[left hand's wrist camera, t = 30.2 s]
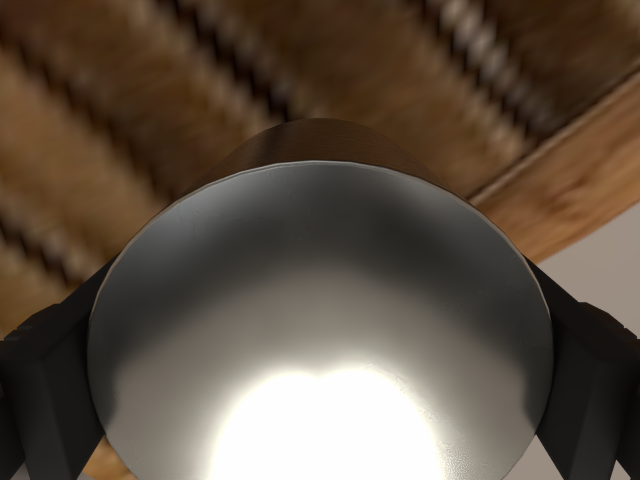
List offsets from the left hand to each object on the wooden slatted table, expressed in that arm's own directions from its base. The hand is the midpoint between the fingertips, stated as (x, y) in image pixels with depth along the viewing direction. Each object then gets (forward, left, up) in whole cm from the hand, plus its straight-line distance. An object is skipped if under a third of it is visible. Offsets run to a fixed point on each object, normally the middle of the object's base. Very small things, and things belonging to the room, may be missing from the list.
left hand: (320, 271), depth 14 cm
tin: (0, 0, -3) cm, 3 cm away
